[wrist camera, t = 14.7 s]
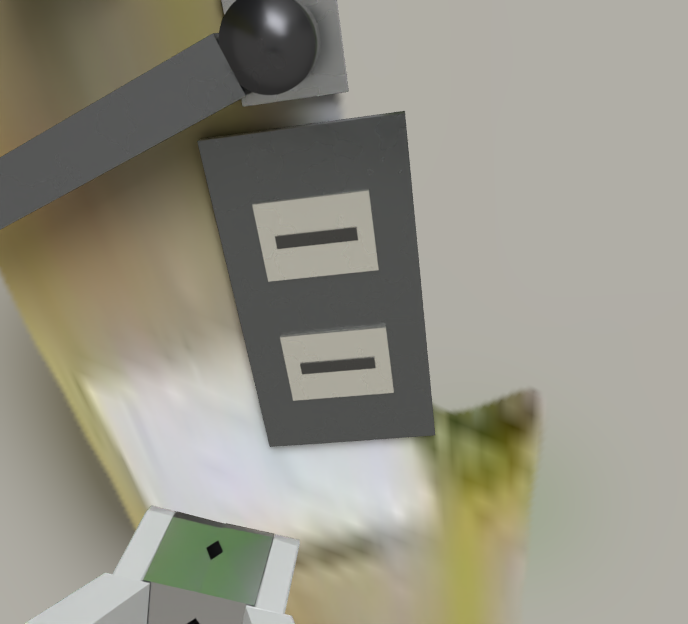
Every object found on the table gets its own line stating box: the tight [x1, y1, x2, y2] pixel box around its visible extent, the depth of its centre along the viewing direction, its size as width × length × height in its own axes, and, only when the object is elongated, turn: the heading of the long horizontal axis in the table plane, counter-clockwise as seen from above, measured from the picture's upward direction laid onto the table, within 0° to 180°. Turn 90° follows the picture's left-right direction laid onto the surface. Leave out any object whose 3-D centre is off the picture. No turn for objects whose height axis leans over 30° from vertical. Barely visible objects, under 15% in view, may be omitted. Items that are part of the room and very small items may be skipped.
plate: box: [197, 111, 435, 447], centre depth 39 cm, size 12×22×1 cm, turn 8°
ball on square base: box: [221, 0, 349, 107], centre depth 32 cm, size 6×6×3 cm
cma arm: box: [0, 0, 321, 230], centre depth 31 cm, size 25×4×3 cm, turn 116°
